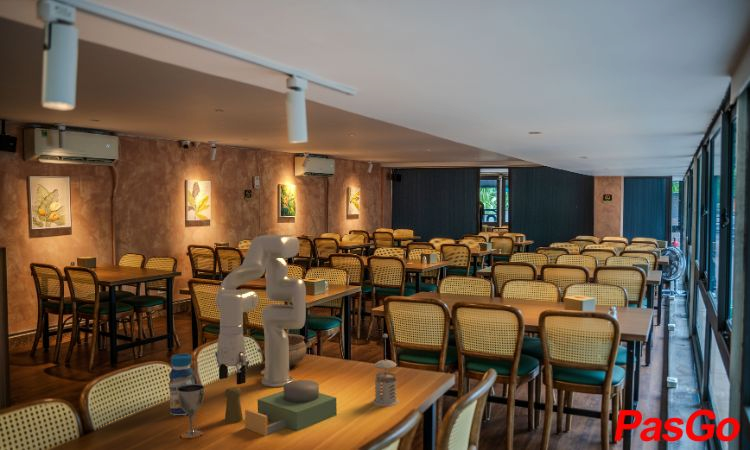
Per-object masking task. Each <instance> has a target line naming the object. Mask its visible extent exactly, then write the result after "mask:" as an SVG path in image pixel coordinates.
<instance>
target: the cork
mask: <svg viewBox="0 0 750 450" xmlns="http://www.w3.org/2000/svg"><path fill="white" fill-rule="evenodd" d="M224 393H225V397H226V405H225V416H224V422H225V421H226V422H225V423H227V422H228V423H227V424H237V423H240V422H243V420H244V417H243V413H242V410H243V409H242V403H241V401H240V400H241V399H240V397H241V394H242V390H241V388H240V387H238V386H229V387H228V388H226V389H225V392H224Z"/></svg>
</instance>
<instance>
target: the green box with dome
mask: <svg viewBox="0 0 750 450" xmlns="http://www.w3.org/2000/svg"><path fill="white" fill-rule="evenodd" d="M319 385H320V384H319V383H318V382H317V381H313V380H308V379H307V380H305V379H303V380H301V379H300V380H293V381H292V382H289V383H286V384H285V385H284V386H283V390H281V391H278V392H275V393H271V394H269V395H266V396H263V397H260V398H257V411H253V410H251V409H249V408H247V409H245V411H244V413H245V414H244V415H245V417H244V419H245V422H244V423H245V429H247V430H248V431H249V430H250V431H253V432H255V433H257V434H260V435H262V436H264V437H266V436H268V435H270V434H273V433H276V432H278V431H281V430H283V429H285V428H287V429H288V428H289V429H291V430H294V431H297V432H299V431H301V430H304V429H305V428H309V427H311V426H313V425H315V424H318V423H320V422H322V421H325V420H327V419H331V418H333V417H335V416H337V414H338V413H337V411H338V410H337V397H335V396H332V395H329V394H325V393H322V392H319V391H320V389H319V387H320V386H319ZM268 422H272V423H270V424H269V425H268Z"/></svg>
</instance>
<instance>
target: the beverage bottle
mask: <svg viewBox="0 0 750 450" xmlns="http://www.w3.org/2000/svg"><path fill="white" fill-rule="evenodd" d="M170 364H171V367H172V369H171V370H170V372H169V375H168V377H169V382H168V386H169V412H170V414H171V415H172V414H173V415H172V416H175V415H184V416H187V413H186V412H185V411H184V410H183V409H182V408H181V407H180V404H179V400H178V388H179V387H181V386H183V385H188V384H195V378H194V376H195V373H194V370H193V368H192V367H191V365H192V355H191V354H190V353H177V354H174V355H171V358H170Z"/></svg>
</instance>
